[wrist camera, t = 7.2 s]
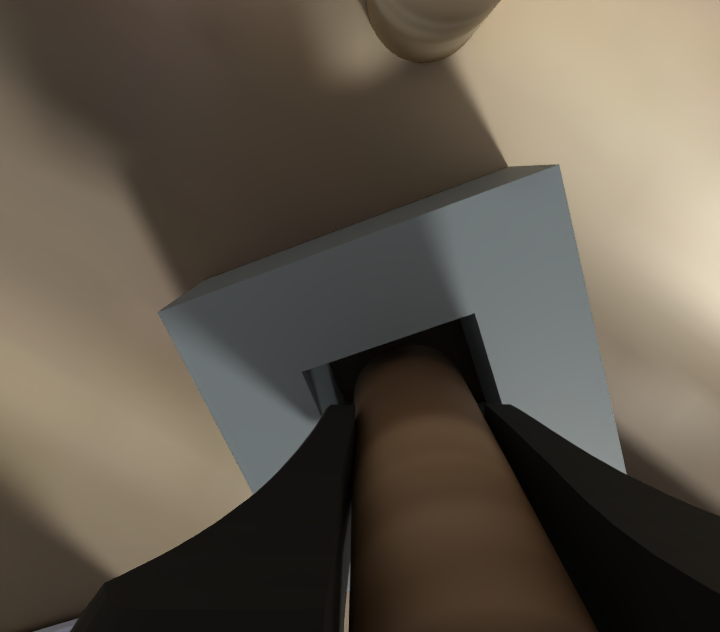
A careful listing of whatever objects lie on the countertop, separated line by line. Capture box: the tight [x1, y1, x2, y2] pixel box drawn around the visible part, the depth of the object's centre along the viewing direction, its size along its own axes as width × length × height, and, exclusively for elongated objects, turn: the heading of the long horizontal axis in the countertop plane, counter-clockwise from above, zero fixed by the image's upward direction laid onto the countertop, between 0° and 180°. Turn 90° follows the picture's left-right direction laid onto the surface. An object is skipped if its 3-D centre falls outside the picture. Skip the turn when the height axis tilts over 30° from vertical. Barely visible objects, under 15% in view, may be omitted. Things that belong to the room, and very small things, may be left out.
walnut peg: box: [349, 345, 598, 632], centre depth 9 cm, size 3×3×8 cm
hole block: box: [158, 164, 627, 592], centre depth 14 cm, size 10×10×4 cm
